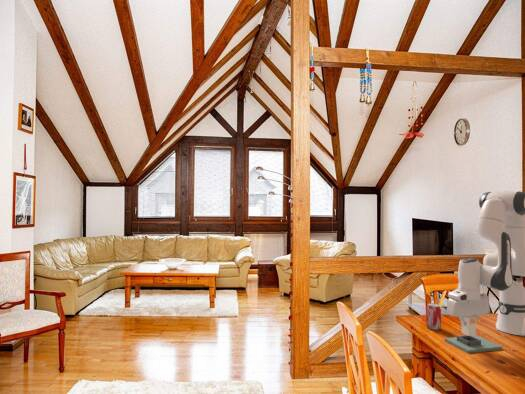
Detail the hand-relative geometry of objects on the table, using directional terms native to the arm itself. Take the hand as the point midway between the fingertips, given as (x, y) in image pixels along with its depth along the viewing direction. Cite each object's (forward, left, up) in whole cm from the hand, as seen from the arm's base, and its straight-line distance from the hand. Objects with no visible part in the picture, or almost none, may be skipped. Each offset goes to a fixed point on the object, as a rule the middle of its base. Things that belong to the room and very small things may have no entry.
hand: (468, 324), depth 166 cm
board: (-2, 0, -9) cm, 10 cm away
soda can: (0, -23, -10) cm, 25 cm away
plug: (0, 0, -4) cm, 4 cm away
